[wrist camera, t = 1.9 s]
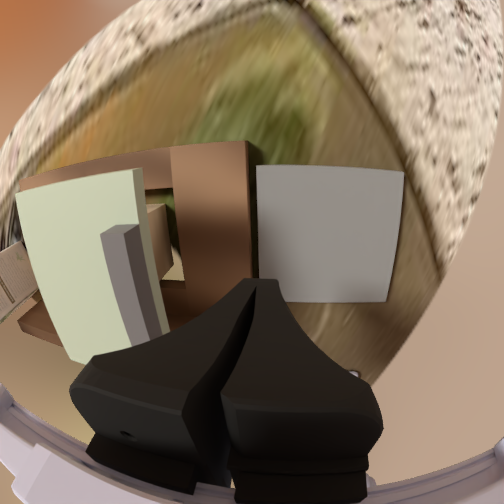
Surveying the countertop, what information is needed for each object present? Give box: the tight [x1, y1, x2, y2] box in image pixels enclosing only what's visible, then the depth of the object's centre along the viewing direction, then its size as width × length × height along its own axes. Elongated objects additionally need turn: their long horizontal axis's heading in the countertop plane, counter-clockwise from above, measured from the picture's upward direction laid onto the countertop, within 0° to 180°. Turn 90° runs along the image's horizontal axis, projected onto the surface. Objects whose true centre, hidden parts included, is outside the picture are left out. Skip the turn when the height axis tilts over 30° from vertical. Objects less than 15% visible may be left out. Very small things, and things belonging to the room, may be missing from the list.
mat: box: [256, 165, 404, 302], centre depth 17 cm, size 9×9×1 cm
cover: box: [15, 168, 170, 365], centre depth 12 cm, size 12×9×2 cm
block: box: [146, 204, 174, 281], centre depth 16 cm, size 4×4×6 cm
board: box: [17, 141, 253, 347], centre depth 16 cm, size 13×21×6 cm, turn 92°
